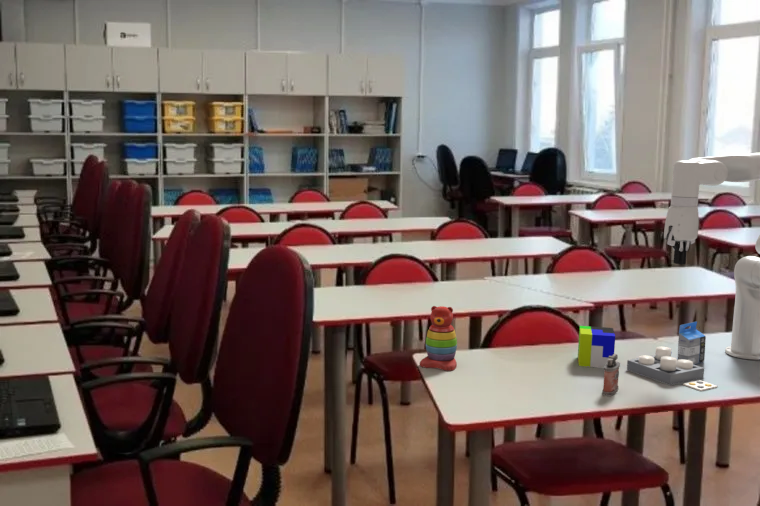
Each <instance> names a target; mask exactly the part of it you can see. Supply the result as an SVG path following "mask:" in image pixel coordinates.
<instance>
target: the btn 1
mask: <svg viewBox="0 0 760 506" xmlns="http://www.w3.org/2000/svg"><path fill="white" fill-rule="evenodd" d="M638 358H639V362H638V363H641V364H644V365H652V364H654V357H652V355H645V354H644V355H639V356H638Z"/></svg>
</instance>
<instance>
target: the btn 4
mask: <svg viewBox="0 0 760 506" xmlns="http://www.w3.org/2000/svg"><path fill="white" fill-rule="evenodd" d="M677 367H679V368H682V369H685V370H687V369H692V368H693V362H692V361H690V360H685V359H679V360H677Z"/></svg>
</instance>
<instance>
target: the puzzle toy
mask: <svg viewBox="0 0 760 506" xmlns="http://www.w3.org/2000/svg"><path fill="white" fill-rule="evenodd" d="M615 344H616V334H615V330H614V328H613V327H603V326H589V325H579V331H578V349H577V362H578V366H579V367H587V366H589V367H590V368H600V367H604V366H605V364H607V361H608V358H609V356H612V355H613V354H615V347H616V346H615Z"/></svg>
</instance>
